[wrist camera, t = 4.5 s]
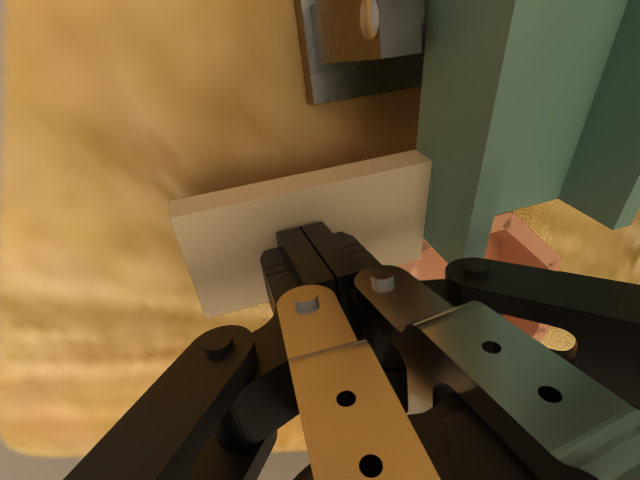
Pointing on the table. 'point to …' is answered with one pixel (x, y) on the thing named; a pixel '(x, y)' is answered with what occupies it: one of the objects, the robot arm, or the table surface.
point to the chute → (456, 148)
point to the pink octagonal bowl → (498, 259)
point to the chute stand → (360, 46)
